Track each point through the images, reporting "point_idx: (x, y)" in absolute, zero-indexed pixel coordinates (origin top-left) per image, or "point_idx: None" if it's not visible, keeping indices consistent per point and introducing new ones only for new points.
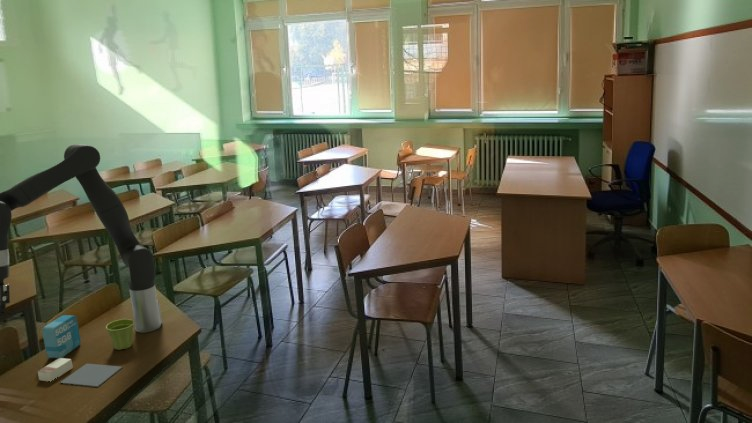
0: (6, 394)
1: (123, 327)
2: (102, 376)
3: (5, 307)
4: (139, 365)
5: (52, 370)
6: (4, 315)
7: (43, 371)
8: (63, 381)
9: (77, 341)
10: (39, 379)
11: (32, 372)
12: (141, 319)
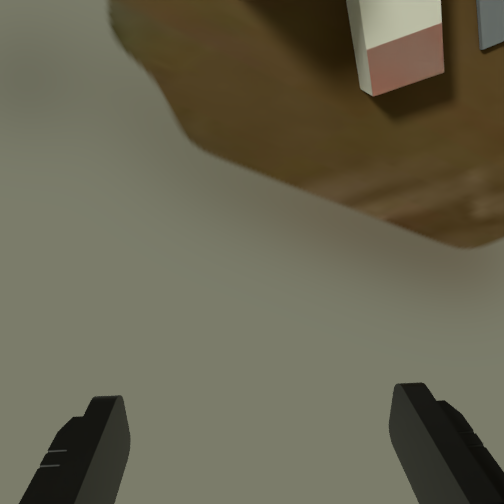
0: (343, 205)
1: None
2: None
3: (475, 458)
4: None
5: (439, 48)
6: (419, 386)
7: (403, 80)
8: (492, 36)
9: None
10: (362, 88)
11: (265, 73)
12: None
